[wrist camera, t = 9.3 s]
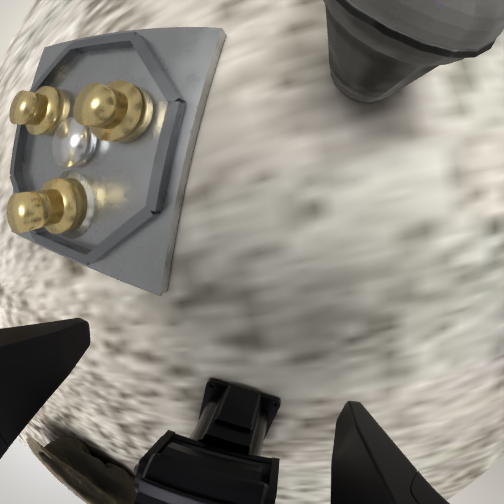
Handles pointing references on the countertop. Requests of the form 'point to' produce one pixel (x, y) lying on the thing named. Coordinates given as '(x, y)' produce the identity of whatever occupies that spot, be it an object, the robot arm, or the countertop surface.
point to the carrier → (117, 142)
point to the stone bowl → (85, 472)
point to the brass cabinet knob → (49, 207)
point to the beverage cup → (404, 40)
